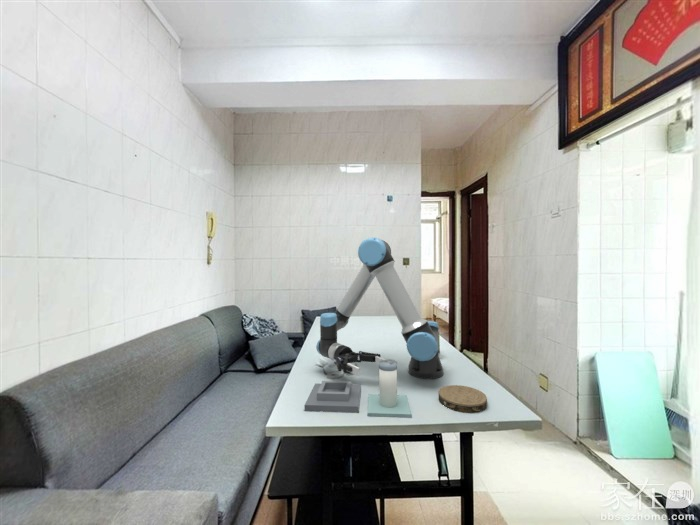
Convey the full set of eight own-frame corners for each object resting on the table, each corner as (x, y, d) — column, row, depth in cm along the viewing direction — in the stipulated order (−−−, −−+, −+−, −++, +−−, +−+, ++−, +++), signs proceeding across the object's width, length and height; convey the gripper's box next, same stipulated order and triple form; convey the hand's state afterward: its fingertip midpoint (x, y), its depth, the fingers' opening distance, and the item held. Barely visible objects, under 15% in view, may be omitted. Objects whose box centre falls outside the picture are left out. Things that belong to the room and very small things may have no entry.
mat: (406, 397, 108) (406, 395, 108) (411, 417, 94) (411, 414, 94) (368, 396, 109) (368, 394, 109) (367, 416, 95) (367, 412, 95)
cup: (396, 399, 105) (396, 359, 105) (398, 407, 98) (397, 365, 99) (379, 399, 105) (378, 359, 105) (379, 407, 99) (379, 364, 99)
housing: (361, 389, 116) (360, 378, 116) (358, 412, 98) (358, 398, 98) (315, 388, 117) (315, 377, 117) (304, 411, 99) (304, 397, 99)
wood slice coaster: (495, 414, 96) (495, 404, 96) (446, 414, 97) (446, 404, 97) (476, 393, 112) (475, 385, 112) (433, 393, 113) (433, 385, 113)
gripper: (364, 357, 132) (398, 370, 115) (314, 369, 118) (345, 386, 101) (364, 340, 132) (398, 351, 115) (314, 350, 118) (345, 364, 101)
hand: (373, 367), depth 108 cm, fingers open, 13 cm apart
